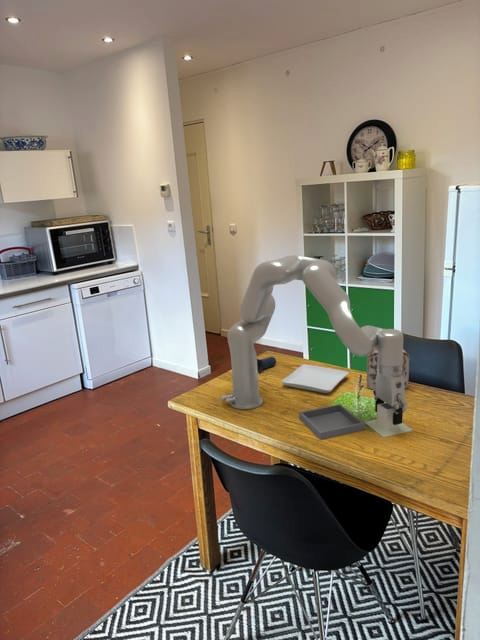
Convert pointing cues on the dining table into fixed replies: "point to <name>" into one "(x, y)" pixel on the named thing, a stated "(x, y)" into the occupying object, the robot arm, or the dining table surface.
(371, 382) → the decorative jar
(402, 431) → the mat
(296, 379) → the salad plate
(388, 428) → the labelled box
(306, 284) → the robot arm
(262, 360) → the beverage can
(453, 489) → the dining table surface
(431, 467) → the dining table surface
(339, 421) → the bin
